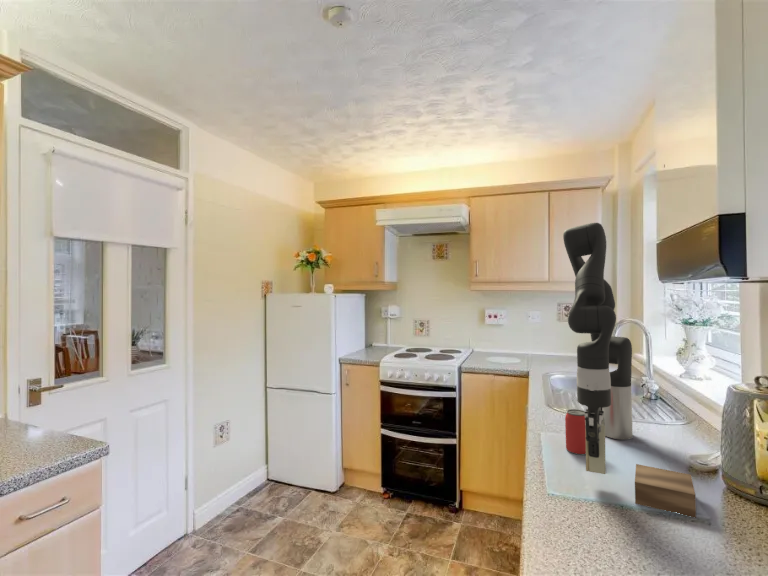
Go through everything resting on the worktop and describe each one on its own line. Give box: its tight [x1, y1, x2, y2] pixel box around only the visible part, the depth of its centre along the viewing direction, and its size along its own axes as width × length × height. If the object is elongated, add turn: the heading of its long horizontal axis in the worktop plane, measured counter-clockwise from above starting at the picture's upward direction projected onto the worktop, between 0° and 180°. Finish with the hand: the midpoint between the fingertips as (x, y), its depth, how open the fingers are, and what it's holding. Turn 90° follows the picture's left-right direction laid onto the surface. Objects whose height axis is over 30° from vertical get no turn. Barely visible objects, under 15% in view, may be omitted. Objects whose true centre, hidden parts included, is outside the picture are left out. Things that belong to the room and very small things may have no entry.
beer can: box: [564, 408, 586, 456], centre depth 120 cm, size 7×7×12 cm
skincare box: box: [585, 418, 607, 475], centre depth 98 cm, size 6×4×12 cm
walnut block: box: [634, 463, 697, 519], centre depth 92 cm, size 11×11×5 cm
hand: (595, 451), depth 98 cm, fingers closed on skincare box, 6 cm apart
